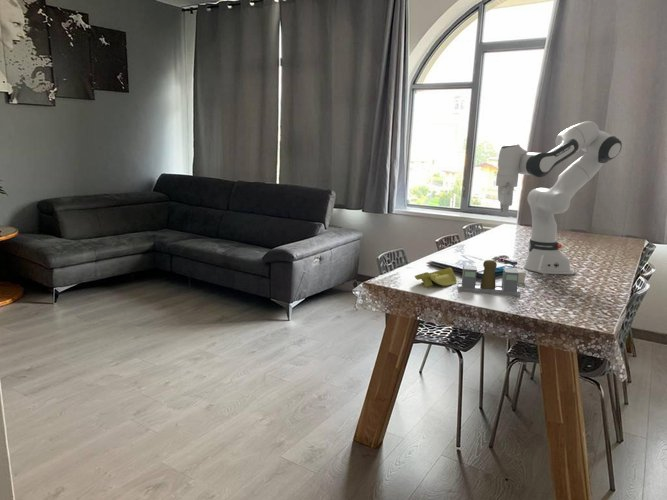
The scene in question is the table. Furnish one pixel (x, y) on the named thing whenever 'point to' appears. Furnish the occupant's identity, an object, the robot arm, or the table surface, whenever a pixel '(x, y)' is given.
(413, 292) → the table surface
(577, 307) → the table surface
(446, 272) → the plastic component
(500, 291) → the rail
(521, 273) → the beige block
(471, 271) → the block
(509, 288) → the block
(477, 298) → the table surface
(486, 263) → the cork
